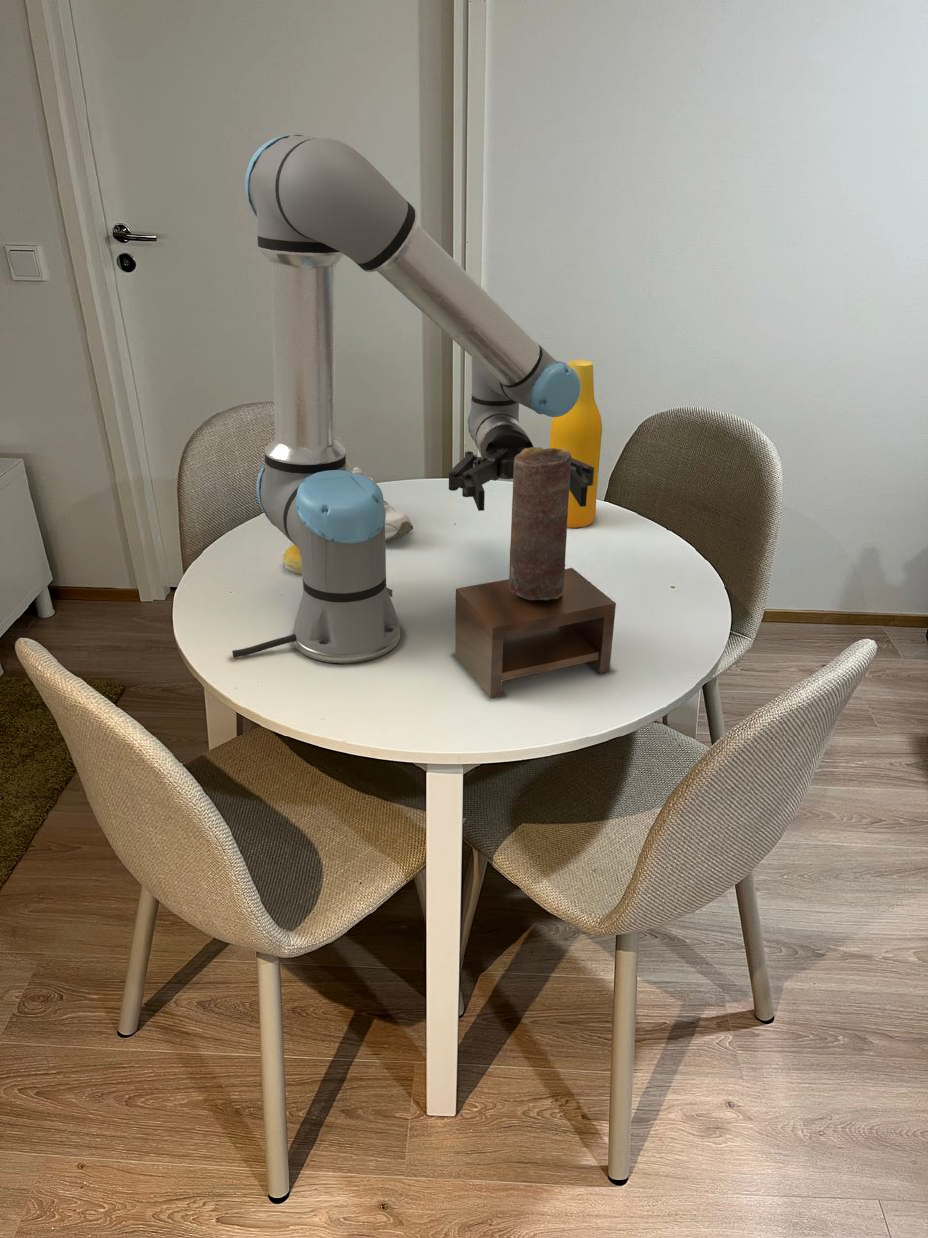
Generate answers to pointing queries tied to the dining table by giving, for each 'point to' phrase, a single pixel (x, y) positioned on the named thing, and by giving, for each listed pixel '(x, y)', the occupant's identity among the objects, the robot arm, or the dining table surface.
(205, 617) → the dining table surface
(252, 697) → the dining table surface
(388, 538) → the athletic shoe
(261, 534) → the dining table surface
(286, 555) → the bread roll
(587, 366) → the beer bottle
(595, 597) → the shelf
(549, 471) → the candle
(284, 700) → the dining table surface
